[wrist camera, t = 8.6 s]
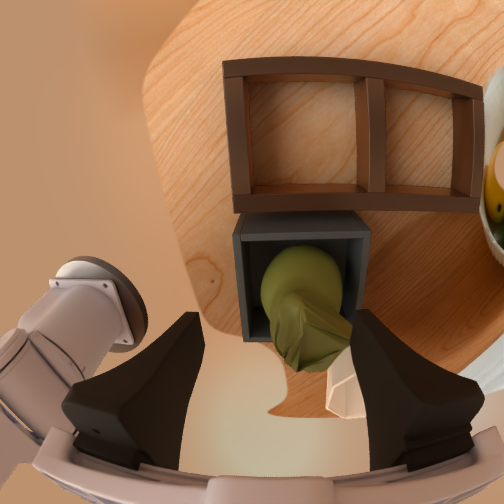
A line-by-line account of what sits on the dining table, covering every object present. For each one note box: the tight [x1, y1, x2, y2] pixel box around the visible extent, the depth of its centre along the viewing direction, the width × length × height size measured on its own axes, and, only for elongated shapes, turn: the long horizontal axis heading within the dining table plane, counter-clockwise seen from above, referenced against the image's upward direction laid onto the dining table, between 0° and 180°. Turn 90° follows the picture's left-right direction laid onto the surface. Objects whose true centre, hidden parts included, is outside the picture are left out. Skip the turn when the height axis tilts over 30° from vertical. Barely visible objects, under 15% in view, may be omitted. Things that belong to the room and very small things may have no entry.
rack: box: [222, 56, 485, 213], centre depth 17 cm, size 10×19×3 cm, turn 94°
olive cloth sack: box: [261, 244, 353, 373], centre depth 18 cm, size 6×5×10 cm
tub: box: [232, 210, 372, 342], centre depth 21 cm, size 8×8×5 cm
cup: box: [326, 346, 366, 419], centre depth 22 cm, size 7×10×8 cm
